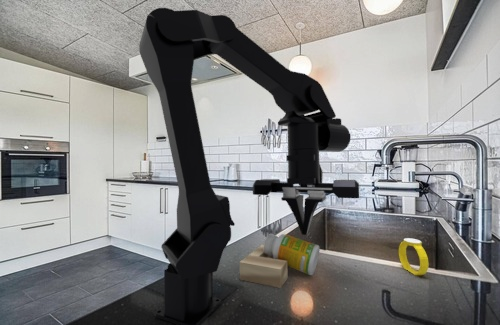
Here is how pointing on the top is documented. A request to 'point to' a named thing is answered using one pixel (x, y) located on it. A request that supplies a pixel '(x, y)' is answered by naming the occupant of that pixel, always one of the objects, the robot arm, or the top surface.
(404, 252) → the watch
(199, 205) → the robot arm
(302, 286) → the top surface
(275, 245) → the supplement bottle
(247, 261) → the beige c-shaped block
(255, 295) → the top surface
